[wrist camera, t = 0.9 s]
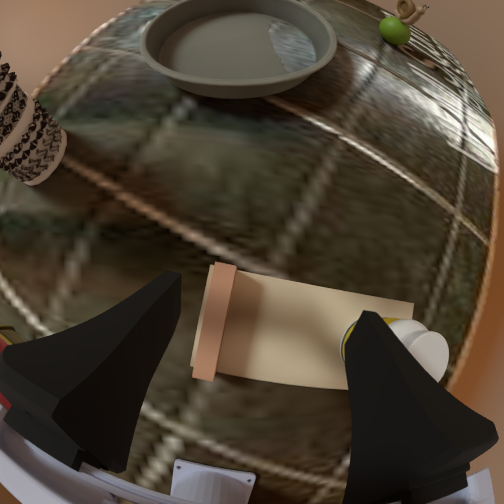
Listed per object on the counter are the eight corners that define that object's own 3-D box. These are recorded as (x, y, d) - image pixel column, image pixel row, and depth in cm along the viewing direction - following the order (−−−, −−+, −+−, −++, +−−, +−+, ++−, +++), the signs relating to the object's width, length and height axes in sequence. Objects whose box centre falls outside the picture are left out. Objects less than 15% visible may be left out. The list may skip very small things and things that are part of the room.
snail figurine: (385, 51, 30) (413, -1, 18) (370, 29, 31) (391, -19, 19) (411, 57, 30) (440, 11, 19) (395, 35, 31) (418, -9, 20)
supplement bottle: (392, 317, 23) (461, 321, 13) (383, 372, 22) (446, 400, 13) (342, 313, 23) (401, 319, 13) (332, 371, 22) (383, 409, 12)
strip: (394, 390, 22) (411, 398, 19) (190, 365, 22) (183, 374, 19) (413, 303, 24) (431, 303, 20) (210, 264, 24) (206, 259, 20)
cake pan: (250, 149, 26) (252, 123, 21) (114, 67, 28) (104, 46, 23) (358, 54, 30) (367, 34, 25) (232, -2, 32) (232, -21, 27)
